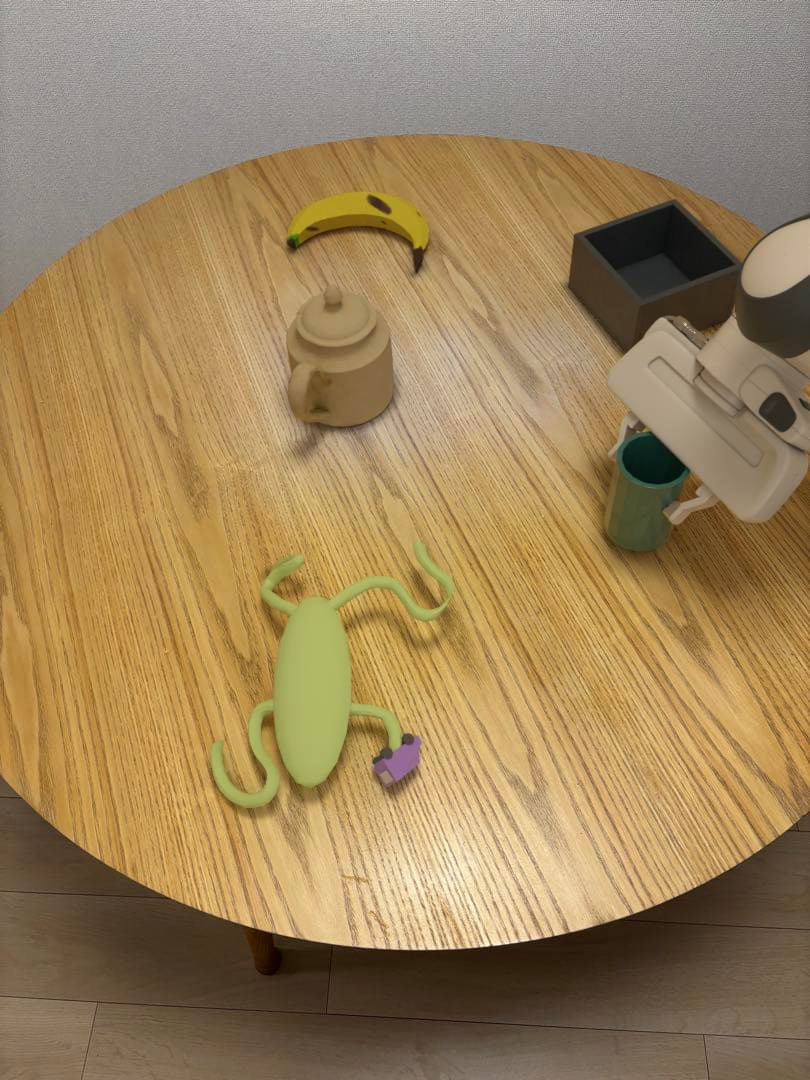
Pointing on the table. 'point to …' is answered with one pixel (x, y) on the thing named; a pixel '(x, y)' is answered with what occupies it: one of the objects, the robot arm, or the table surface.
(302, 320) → the sugar bowl
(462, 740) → the table surface
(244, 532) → the table surface
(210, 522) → the table surface
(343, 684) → the figurine
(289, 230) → the banana
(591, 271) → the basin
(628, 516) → the cup
